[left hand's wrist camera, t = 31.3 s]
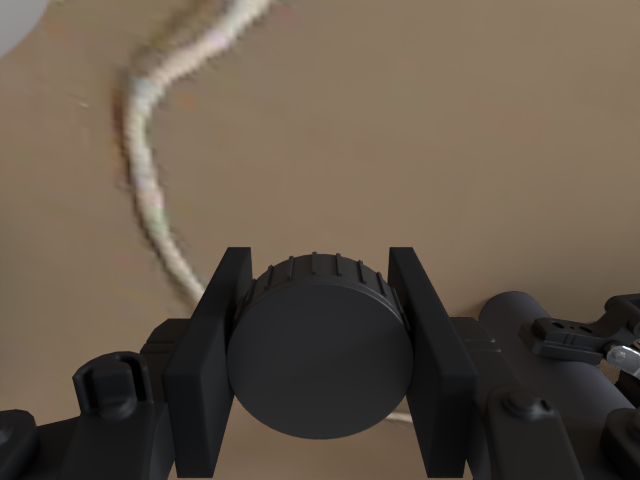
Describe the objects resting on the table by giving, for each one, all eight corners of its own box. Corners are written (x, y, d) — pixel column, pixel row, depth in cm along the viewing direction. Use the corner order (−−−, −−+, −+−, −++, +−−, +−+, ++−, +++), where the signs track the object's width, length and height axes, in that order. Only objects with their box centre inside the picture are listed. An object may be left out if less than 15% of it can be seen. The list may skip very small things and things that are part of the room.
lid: (200, 321, 12) (182, 359, 11) (329, 215, 11) (330, 240, 9) (312, 421, 14) (311, 469, 12) (438, 335, 12) (456, 375, 11)
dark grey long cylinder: (538, 286, 30) (807, 552, 13) (539, 337, 31) (782, 632, 15) (476, 296, 30) (665, 570, 14) (480, 346, 32) (654, 647, 15)
